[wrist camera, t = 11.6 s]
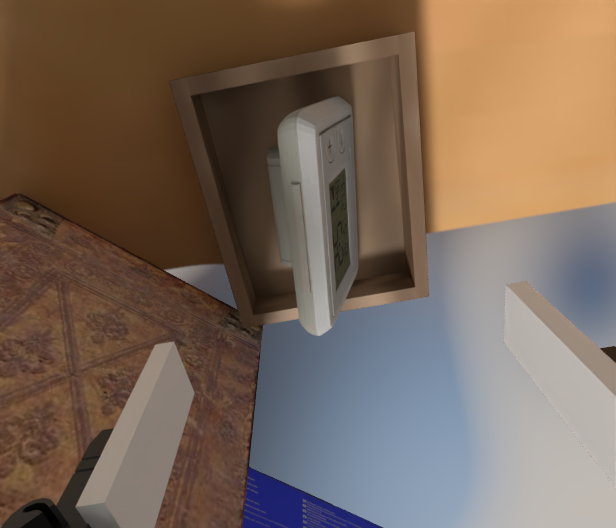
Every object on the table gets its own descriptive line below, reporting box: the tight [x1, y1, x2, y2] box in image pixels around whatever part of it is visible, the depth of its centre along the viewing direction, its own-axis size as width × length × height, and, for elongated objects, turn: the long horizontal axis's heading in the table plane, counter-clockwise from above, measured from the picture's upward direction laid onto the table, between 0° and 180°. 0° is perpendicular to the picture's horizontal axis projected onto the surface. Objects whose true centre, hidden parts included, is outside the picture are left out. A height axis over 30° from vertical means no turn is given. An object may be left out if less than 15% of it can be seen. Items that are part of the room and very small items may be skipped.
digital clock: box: [267, 96, 358, 336], centre depth 31 cm, size 16×9×11 cm, turn 174°
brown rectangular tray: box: [169, 31, 429, 328], centre depth 35 cm, size 17×21×4 cm
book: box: [0, 194, 263, 528], centre depth 27 cm, size 25×9×30 cm, turn 56°
